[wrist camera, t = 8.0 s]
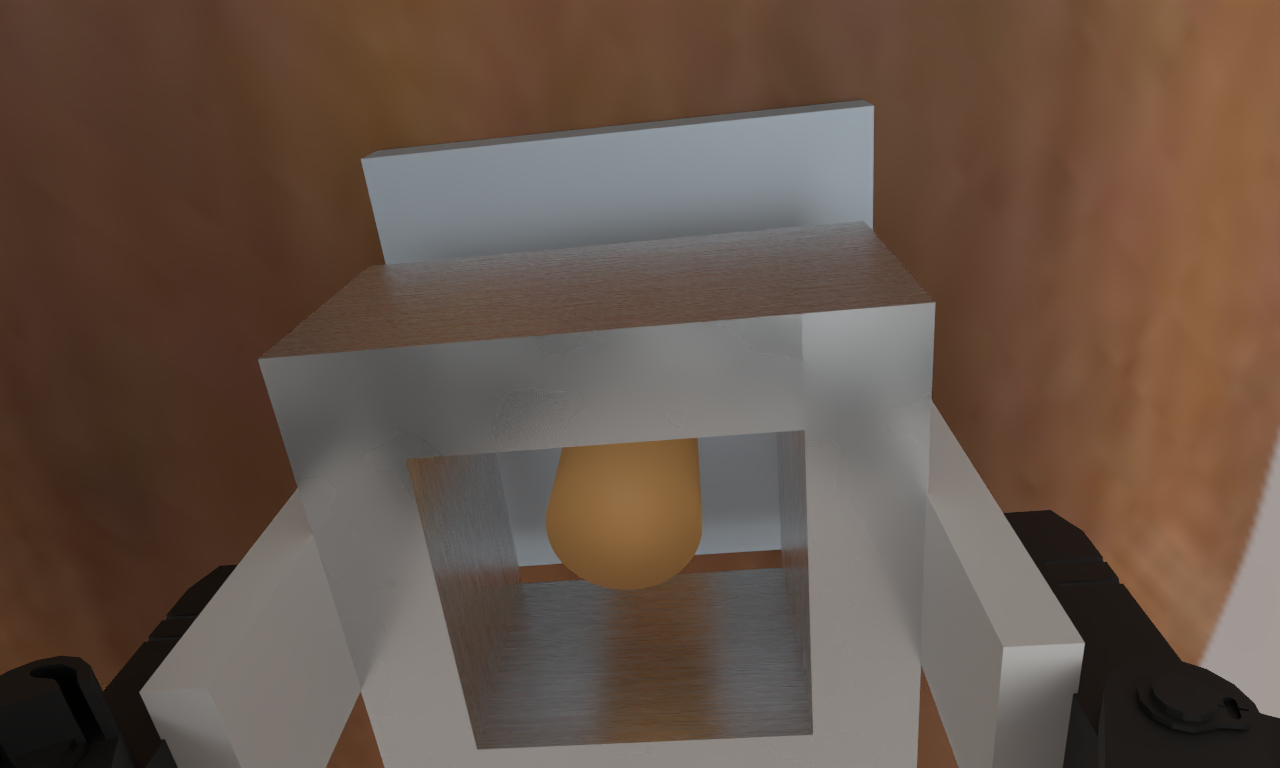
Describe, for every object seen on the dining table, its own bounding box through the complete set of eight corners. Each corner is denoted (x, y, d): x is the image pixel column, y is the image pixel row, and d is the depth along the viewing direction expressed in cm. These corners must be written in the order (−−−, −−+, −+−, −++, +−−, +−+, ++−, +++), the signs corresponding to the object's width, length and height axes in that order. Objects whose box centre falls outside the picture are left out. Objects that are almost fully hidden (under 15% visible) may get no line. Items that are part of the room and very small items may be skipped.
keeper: (467, 546, 22) (382, 774, 15) (376, 150, 18) (208, 238, 11) (861, 520, 21) (943, 748, 15) (863, 99, 17) (978, 162, 10)
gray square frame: (461, 648, 17) (401, 823, 13) (368, 265, 14) (258, 359, 10) (862, 626, 16) (915, 803, 13) (863, 221, 13) (934, 302, 10)
